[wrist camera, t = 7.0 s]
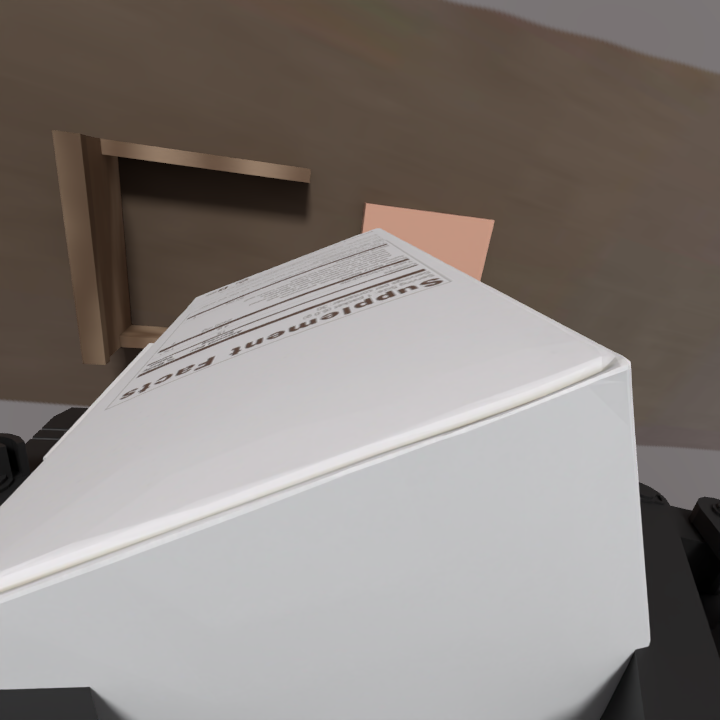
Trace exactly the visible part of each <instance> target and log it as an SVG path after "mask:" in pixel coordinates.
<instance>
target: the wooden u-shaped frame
mask: <svg viewBox="0 0 720 720" xmlns="http://www.w3.org/2000/svg"><path fill="white" fill-rule="evenodd" d="M52 135H53V142H54V150H55V157H56V165H57V172H58V180H59V187H60V195H61V202H62V210H63V217H64V225H65V232H66V240H67V247H68V255H69V262H70V270H71V277H72V285H73V292H74V300H75V307H76V315H77V322H78V330H79V337H80V345H81V352H82V360H83V364H97V365H106V364H107V363H108V362H109V361H110V356H111V355H112V354H113V353H114V352H115V351H116V350H117V349H119V348H120V347H129V348H145V347H146V346H147V345H148V344H149V343H155V342H156V341H157V340H158V339H159V337H160V336H161V335H162V334H163V333H164V332H165V331H166V330H167V329H168V327H154V326H140V325H132V324H131V311H130V299H129V287H128V275H127V263H126V251H125V239H124V226H123V214H122V202H121V190H120V178H119V166H118V157H126V158H133V159H140V160H147V161H155V162H162V163H169V164H176V165H183V166H191V167H198V168H205V169H212V170H220V171H227V172H234V173H241V174H249V175H256V176H263V177H270V178H277V179H285V180H292V181H299V182H306V183H310V173H311V169H306V168H299V167H292V166H286V165H279V164H272V163H265V162H258V161H251V160H244V159H237V158H230V157H223V156H216V155H209V154H202V153H195V152H189V151H182V150H175V149H168V148H161V147H154V146H147V145H140V144H133V143H126V142H119V141H112V140H105V139H99V138H94V137H90V136H86V135H82V134H76V133H69V132H62V131H56V130H52Z"/></svg>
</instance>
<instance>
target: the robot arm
mask: <svg viewBox="0 0 720 720" xmlns="http://www.w3.org/2000/svg"><path fill="white" fill-rule="evenodd" d="M153 344H154V343H149V344H148V345H147V346H146V347H145V348H144V349H143V350H142V351H141V352H140V353H139V355H138V356H137V357H136V358H135V359H134V360H133V361H132V362H131V363H130V364H129V365H128V366H127V368H126V369H125V370H124V371H123V372H122V373H121V374H120V375H119V376H118V377H117V378H116V379H115V380H114V382H113V383H112V384H111V385H110V386H109V387H108V388H107V389H106V390H105V391H104V392H103V393H102V394H101V396H100V397H99V398H98V399H97V400H96V401H95V402H94V403H93V404H92V405H91V406H90V407H89V408H73V407H72V408H70V409H68V410H66V411H64V412H62V413H60V414H58V415H56V416H54V417H53V418H52V419H51V420H50V421H49V422H48V423H47V424H46V425H45V426H44V427H43V428H42V430H39V431H38V433H36V434H35V435H34V436H33V439H30V440H29V441H28V442H27V443H26V444H25V443H24V441H23V440H22V439H21V437H19V436H16V435H13V434H4V433H0V506H1V505H2V504H3V503H4V502H5V501H6V500H7V499H8V498H9V497H10V496H11V495H12V494H13V493H14V492H15V491H16V489H17V488H18V487H19V486H20V485H21V484H22V483H23V482H24V481H25V480H26V479H27V478H28V477H29V476H30V475H31V474H32V473H33V472H34V471H35V469H36V468H37V467H38V466H39V465H40V464H41V463H42V462H43V461H44V460H45V459H46V458H47V457H48V456H49V455H50V454H51V453H52V451H53V450H54V449H55V448H56V447H57V446H58V445H59V444H60V443H61V442H62V441H63V440H64V439H65V438H66V437H67V435H68V434H69V433H70V432H71V431H72V430H73V429H74V428H75V427H76V426H77V425H78V424H79V423H80V422H81V421H82V420H83V419H84V418H85V416H86V415H87V414H88V413H89V412H90V411H91V410H92V409H93V408H94V407H95V405H96V404H97V403H98V402H99V401H100V400H101V399H102V398H103V397H104V396H105V395H106V394H107V393H108V392H109V391H110V390H111V389H112V388H113V387H114V386H115V385H116V383H117V382H118V381H119V380H120V379H121V378H122V377H123V376H124V375H125V374H126V373H127V372H128V371H129V369H130V368H131V367H132V366H133V365H134V364H135V363H136V362H137V361H138V360H139V359H140V358H141V357H142V356H143V355H144V354H145V353H146V352H147V350H148V349H149V348H150V347H151V346H152V345H153ZM639 495H640V508H641V522H642V535H643V548H644V561H645V573H646V586H647V599H648V612H649V627H650V644H649V646H648V647H644V648H640V649H636V650H635V651H634V653H633V655H632V657H631V660H630V662H629V664H628V666H627V668H626V670H625V671H624V673H623V675H622V677H621V679H620V681H619V683H618V685H617V687H616V689H615V691H614V693H613V695H612V697H611V699H610V701H609V703H608V705H607V707H606V709H605V711H604V713H603V714H602V716H601V718H600V720H720V500H719V499H715V498H709V497H702V498H699V499H698V501H697V503H696V505H695V507H694V508H693V510H692V511H691V510H686V509H682V508H678V507H674V506H670V505H669V503H668V502H667V500H666V499H665V498H664V497H663V496H662V495H661V494H660V493H658V492H657V491H655V490H654V489H652V488H651V487H649V486H647V485H644V484H642V483H639ZM0 720H99V719H98V716H97V712H96V708H95V705H94V701H93V698H92V694H91V690H90V687H68V688H36V689H0Z"/></svg>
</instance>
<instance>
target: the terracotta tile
mask: <svg viewBox="0 0 720 720" xmlns="http://www.w3.org/2000/svg"><path fill="white" fill-rule="evenodd" d="M494 221H495V220H490V219H483V218H475V217H467V216H460V215H452V214H445V213H437V212H430V211H422V210H415V209H407V208H400V207H392V206H385V205H377V204H370V203H364V210H363V218H362V226H361V234H362V233H365V232H368V231H370V230H373V229H376V228H381V229H383V230H384V231H386V232H388V233H390V234H392V235H394V236H396V237H397V238H399V239H401V240H403V241H405V242H407V243H409V244H411V245H413V246H415V247H417V248H418V249H420V250H422V251H424V252H426V253H428V254H430V255H431V256H433V257H435V258H437V259H439V260H441V261H443V262H444V263H446V264H448V265H450V266H452V267H454V268H456V269H458V270H460V271H462V272H464V273H466V274H467V275H469V276H471V277H473V278H475V279H476V280H478V281H480V280H481V275H482V271H483V267H484V263H485V258H486V254H487V250H488V246H489V242H490V237H491V233H492V229H493V225H494Z"/></svg>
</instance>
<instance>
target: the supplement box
mask: <svg viewBox="0 0 720 720" xmlns="http://www.w3.org/2000/svg"><path fill="white" fill-rule="evenodd" d="M649 644H650V627H649V612H648V599H647V586H646V573H645V561H644V548H643V535H642V522H641V508H640V495H639V481H638V468H637V455H636V441H635V427H634V412H633V398H632V379H631V362H630V361H629V360H628V359H626V358H625V357H624V356H622V355H620V354H618V353H615V352H613V351H611V350H609V349H607V348H605V347H603V346H602V345H600V344H598V343H596V342H594V341H592V340H590V339H588V338H587V337H585V336H583V335H581V334H579V333H577V332H575V331H573V330H571V329H569V328H567V327H565V326H564V325H562V324H560V323H558V322H556V321H554V320H552V319H550V318H548V317H546V316H545V315H543V314H541V313H539V312H537V311H535V310H533V309H531V308H529V307H528V306H526V305H524V304H522V303H520V302H518V301H516V300H514V299H512V298H511V297H509V296H507V295H505V294H503V293H501V292H499V291H497V290H496V289H494V288H492V287H490V286H488V285H485V284H484V283H482V282H480V281H478V280H476V279H475V278H473V277H471V276H469V275H467V274H466V273H464V272H462V271H460V270H458V269H456V268H454V267H452V266H450V265H448V264H446V263H444V262H443V261H441V260H439V259H437V258H435V257H433V256H431V255H430V254H428V253H426V252H424V251H422V250H420V249H418V248H417V247H415V246H413V245H411V244H409V243H407V242H405V241H403V240H401V239H399V238H397V237H396V236H394V235H392V234H390V233H388V232H386V231H384V230H383V229H381V228H376V229H373V230H370V231H368V232H365V233H362V234H359V235H357V236H354V237H352V238H349V239H346V240H344V241H341V242H339V243H336V244H334V245H331V246H328V247H326V248H323V249H321V250H318V251H315V252H313V253H310V254H308V255H305V256H302V257H300V258H297V259H294V260H292V261H289V262H287V263H284V264H281V265H279V266H276V267H274V268H271V269H268V270H266V271H263V272H261V273H258V274H255V275H253V276H250V277H248V278H245V279H242V280H240V281H237V282H235V283H232V284H229V285H227V286H224V287H222V288H219V289H216V290H214V291H211V292H209V293H206V294H204V295H201V296H199V297H196V298H195V300H194V301H193V302H192V303H191V304H190V305H189V306H188V308H187V309H186V310H185V311H184V312H183V313H182V314H181V315H180V316H179V317H178V318H177V319H176V320H175V322H174V323H173V324H172V325H171V326H170V327H169V328H168V329H167V330H166V331H165V332H164V333H163V334H162V335H161V336H160V337H159V339H158V340H157V341H156V342H155V343H154V344H153V345H152V346H151V347H150V348H149V349H148V350H147V352H146V353H145V354H144V355H143V356H142V357H141V358H140V359H139V360H138V361H137V362H136V363H135V364H134V365H133V366H132V367H131V368H130V369H129V371H128V372H127V373H126V374H125V375H124V376H123V377H122V378H121V379H120V380H119V381H118V382H117V383H116V385H115V386H114V387H113V388H112V389H111V390H110V391H109V392H108V393H107V394H106V395H105V396H104V397H103V398H102V399H101V400H100V401H99V402H98V403H97V404H96V405H95V407H94V408H93V409H92V410H91V411H90V412H89V413H88V414H87V415H86V416H85V418H84V419H83V420H82V421H81V422H80V423H79V424H78V425H77V426H76V427H75V428H74V429H73V430H72V431H71V432H70V433H69V434H68V435H67V437H66V438H65V439H64V440H63V441H62V442H61V443H60V444H59V445H58V446H57V447H56V448H55V449H54V450H53V451H52V453H51V454H50V455H49V456H48V457H47V458H46V459H45V460H44V461H43V462H42V463H41V464H40V465H39V466H38V467H37V468H36V469H35V471H34V472H33V473H32V474H31V475H30V476H29V477H28V478H27V479H26V480H25V481H24V482H23V483H22V484H21V485H20V486H19V487H18V488H17V489H16V491H15V492H14V493H13V494H12V495H11V496H10V497H9V498H8V499H7V500H6V501H5V502H4V503H3V504H2V505H1V506H0V689H36V688H68V687H90V690H91V694H92V698H93V701H94V705H95V708H96V712H97V716H98V719H99V720H600V718H601V716H602V714H603V713H604V711H605V709H606V707H607V705H608V703H609V701H610V699H611V697H612V695H613V693H614V691H615V689H616V687H617V685H618V683H619V681H620V679H621V677H622V675H623V673H624V671H625V670H626V668H627V666H628V664H629V662H630V660H631V657H632V655H633V653H634V651H635V650H636V649H640V648H644V647H648V646H649Z"/></svg>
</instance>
